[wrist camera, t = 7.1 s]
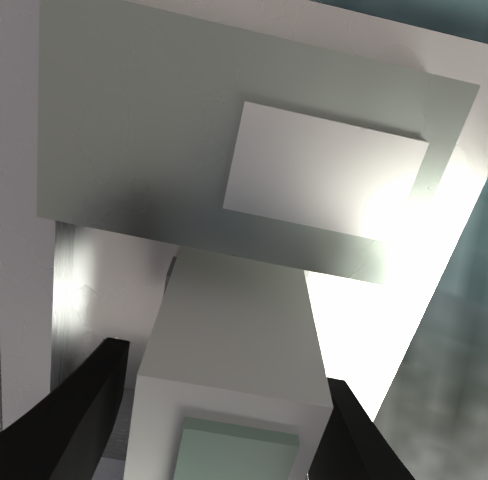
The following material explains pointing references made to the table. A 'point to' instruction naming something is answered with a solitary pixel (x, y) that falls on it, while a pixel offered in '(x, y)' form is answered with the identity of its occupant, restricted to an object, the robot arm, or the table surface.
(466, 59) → the board
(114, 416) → the robot arm
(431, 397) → the table surface
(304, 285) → the block
